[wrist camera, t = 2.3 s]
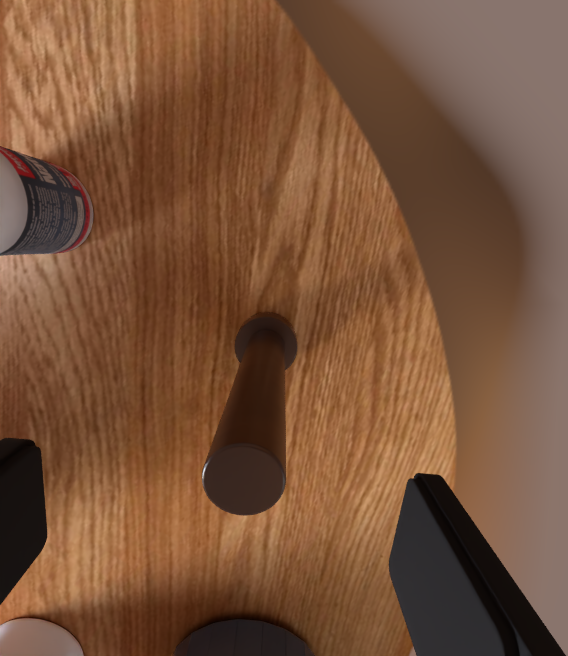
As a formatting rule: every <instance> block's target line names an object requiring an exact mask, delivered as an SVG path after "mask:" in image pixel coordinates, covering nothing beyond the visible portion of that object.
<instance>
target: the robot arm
mask: <svg viewBox="0 0 568 656" xmlns="http://www.w3.org/2000/svg"><path fill="white" fill-rule="evenodd" d="M46 539H47V522H46V509H45V496H44V483H43V470H42V457H41V450H40V448H39V447H36V445H35V443H34V441H32V440H28V439H16V438H4V439H2V440H0V605H1V603H2V602H3V601H4V599H5V598H6V597H7V595H8V594H9V593H10V592H11V590H12V589H13V588H14V586H15V585H16V584H17V582H18V581H19V580H20V578H21V577H22V576H23V575H24V573H25V572H26V571H27V569H28V568H29V567H30V565H31V564H32V563H33V561H34V560H35V559H36V557H37V556H38V555H39V554H40V552H41V551H42V549H43V547H44V545H45V542H46ZM389 572H390V577H391V580H392V583H393V586H394V589H395V592H396V595H397V598H398V601H399V604H400V607H401V610H402V613H403V616H404V619H405V622H406V625H407V628H408V631H409V634H410V637H411V640H412V643H413V646H414V649H415V652H416V655H417V656H566V655H565V654H564V653H563V651H562V649H561V648H560V647H559V645H558V644H557V642H556V641H555V639H554V638H553V636H552V635H551V633H550V632H549V631H548V629H547V628H546V626H545V625H544V623H543V622H542V620H541V619H540V618H539V616H538V615H537V613H536V612H535V610H534V609H533V607H532V606H531V605H530V603H529V602H528V600H527V599H526V597H525V596H524V594H523V593H522V592H521V590H520V589H519V587H518V586H517V584H516V583H515V582H514V580H513V579H512V577H511V576H510V574H509V573H508V571H507V570H506V568H505V567H504V565H503V564H502V563H501V561H500V560H499V558H498V557H497V555H496V554H495V553H494V551H493V550H492V548H491V547H490V545H489V544H488V543H487V541H486V539H485V538H484V537H483V535H482V534H481V532H480V531H479V529H478V528H477V526H476V525H475V524H474V522H473V521H472V519H471V518H470V516H469V515H468V513H467V512H466V511H465V509H464V508H463V506H462V505H461V504H460V502H459V501H458V499H457V498H456V496H455V495H454V493H453V492H452V490H451V489H450V487H449V486H448V485H447V483H446V482H445V480H444V479H443V478H442V477H441V476H440V475H434V474H422V473H417V474H416V475H415V476H414V479H409V480H408V482H407V486H406V490H405V494H404V498H403V503H402V507H401V511H400V516H399V520H398V524H397V528H396V533H395V537H394V541H393V545H392V550H391V554H390V558H389Z"/></svg>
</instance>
